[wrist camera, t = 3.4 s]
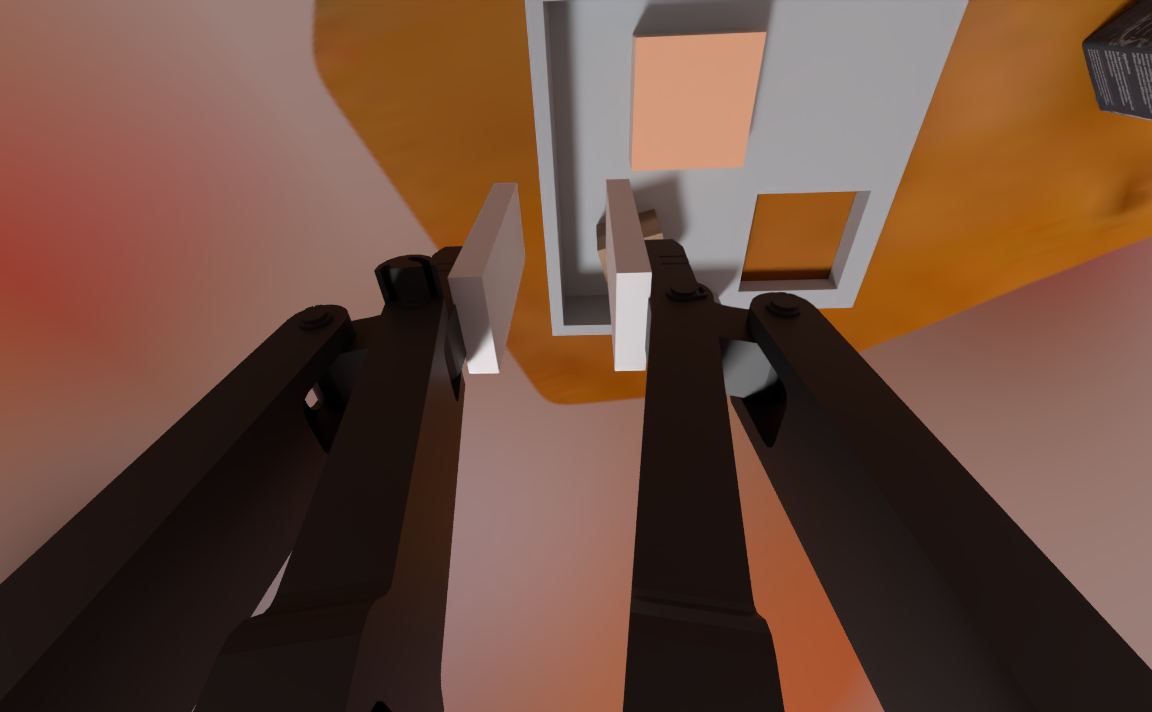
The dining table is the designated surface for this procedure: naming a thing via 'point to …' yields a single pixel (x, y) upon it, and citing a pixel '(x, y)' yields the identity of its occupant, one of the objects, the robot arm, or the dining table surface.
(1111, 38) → the box
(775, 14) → the cubby deck
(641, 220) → the walnut block
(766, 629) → the robot arm
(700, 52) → the terracotta tile
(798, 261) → the dining table surface
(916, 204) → the dining table surface
